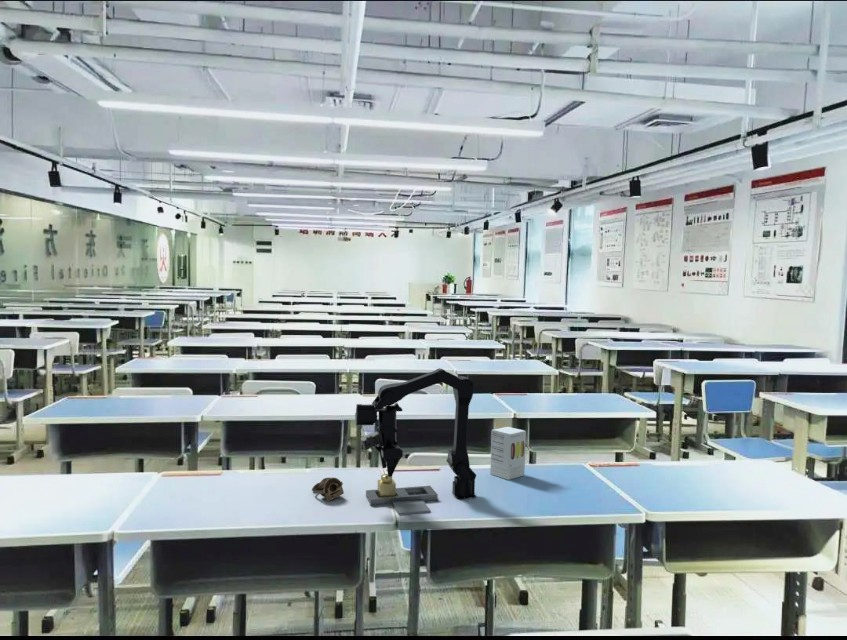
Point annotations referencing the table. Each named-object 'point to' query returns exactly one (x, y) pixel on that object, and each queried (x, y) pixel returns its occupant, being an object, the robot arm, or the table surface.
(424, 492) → the rectangular frame with openings
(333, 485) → the brown piece
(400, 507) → the mat
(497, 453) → the supplement box
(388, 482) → the brass cube with knob
